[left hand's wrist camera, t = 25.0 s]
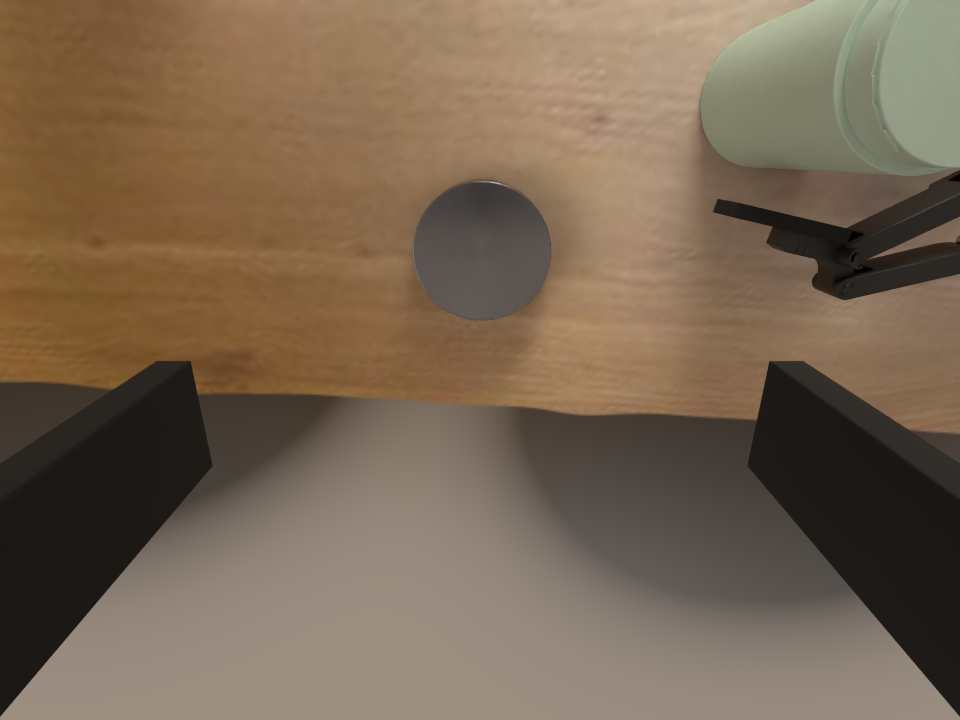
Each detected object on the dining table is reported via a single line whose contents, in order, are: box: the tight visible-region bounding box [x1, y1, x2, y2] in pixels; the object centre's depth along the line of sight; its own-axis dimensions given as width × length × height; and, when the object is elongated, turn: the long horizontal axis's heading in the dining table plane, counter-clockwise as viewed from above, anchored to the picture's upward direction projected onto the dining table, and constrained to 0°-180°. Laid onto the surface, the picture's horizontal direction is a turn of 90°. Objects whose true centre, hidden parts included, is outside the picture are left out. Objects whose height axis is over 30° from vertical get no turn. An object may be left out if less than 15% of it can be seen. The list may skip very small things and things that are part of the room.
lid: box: [413, 180, 551, 320], centre depth 36 cm, size 9×9×2 cm
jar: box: [700, 0, 960, 176], centre depth 26 cm, size 8×8×16 cm
